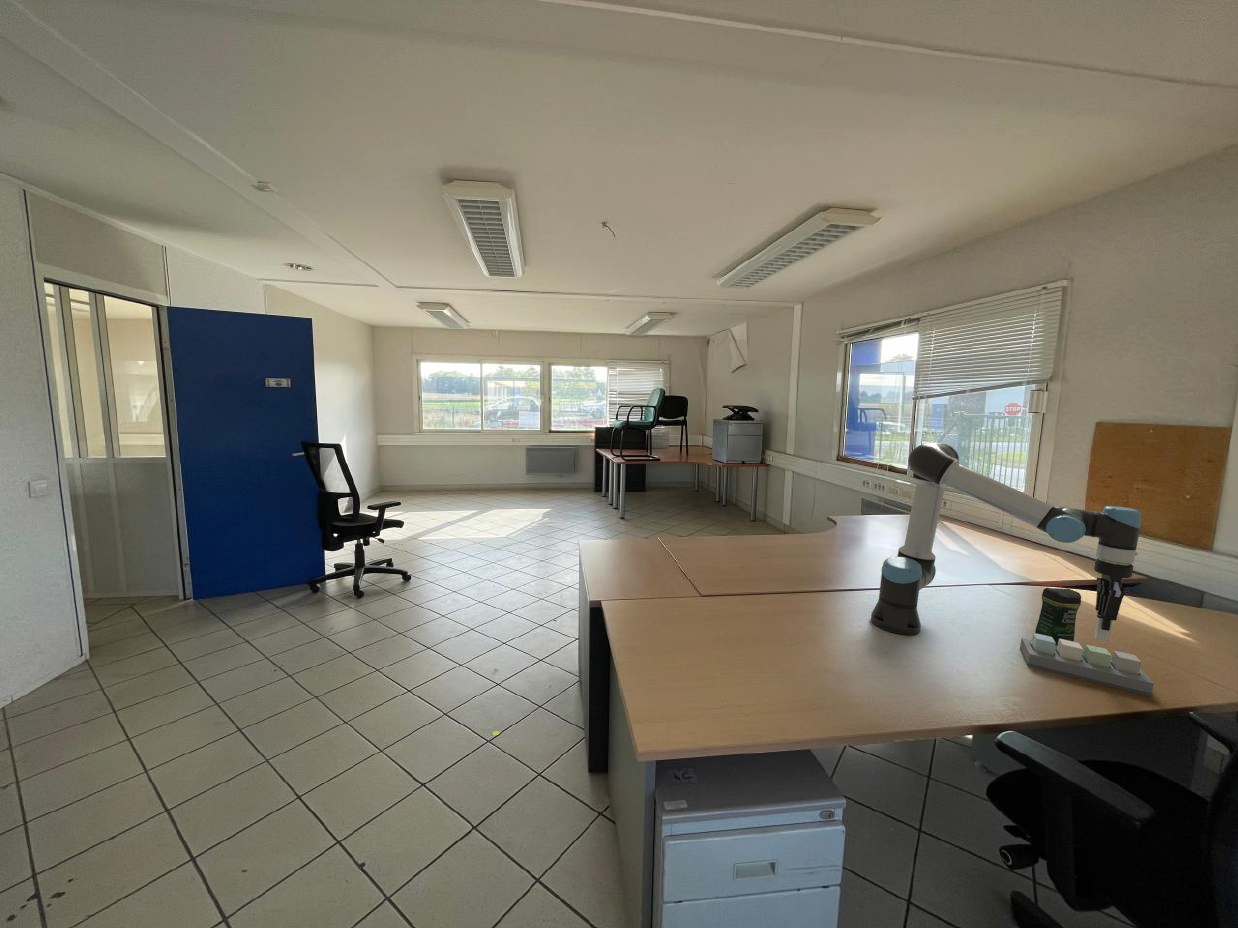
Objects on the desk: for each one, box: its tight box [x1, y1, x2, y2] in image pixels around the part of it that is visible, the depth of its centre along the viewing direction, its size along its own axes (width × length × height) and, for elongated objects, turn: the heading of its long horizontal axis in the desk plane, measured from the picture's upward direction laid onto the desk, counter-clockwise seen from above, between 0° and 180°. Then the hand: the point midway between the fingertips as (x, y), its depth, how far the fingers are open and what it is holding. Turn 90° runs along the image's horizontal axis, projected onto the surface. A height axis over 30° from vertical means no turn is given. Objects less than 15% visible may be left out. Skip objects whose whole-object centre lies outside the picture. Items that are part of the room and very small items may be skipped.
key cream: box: [1057, 639, 1084, 661], centre depth 141 cm, size 4×4×4 cm
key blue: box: [1031, 632, 1056, 655], centre depth 144 cm, size 4×4×4 cm
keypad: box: [1019, 637, 1155, 698], centre depth 140 cm, size 26×12×4 cm, turn 58°
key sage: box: [1083, 644, 1112, 668], centre depth 137 cm, size 4×4×4 cm
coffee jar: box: [1034, 587, 1082, 646], centre depth 157 cm, size 10×8×19 cm
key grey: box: [1111, 650, 1142, 675], centre depth 134 cm, size 4×4×4 cm
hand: (1101, 638), depth 137 cm, fingers closed
